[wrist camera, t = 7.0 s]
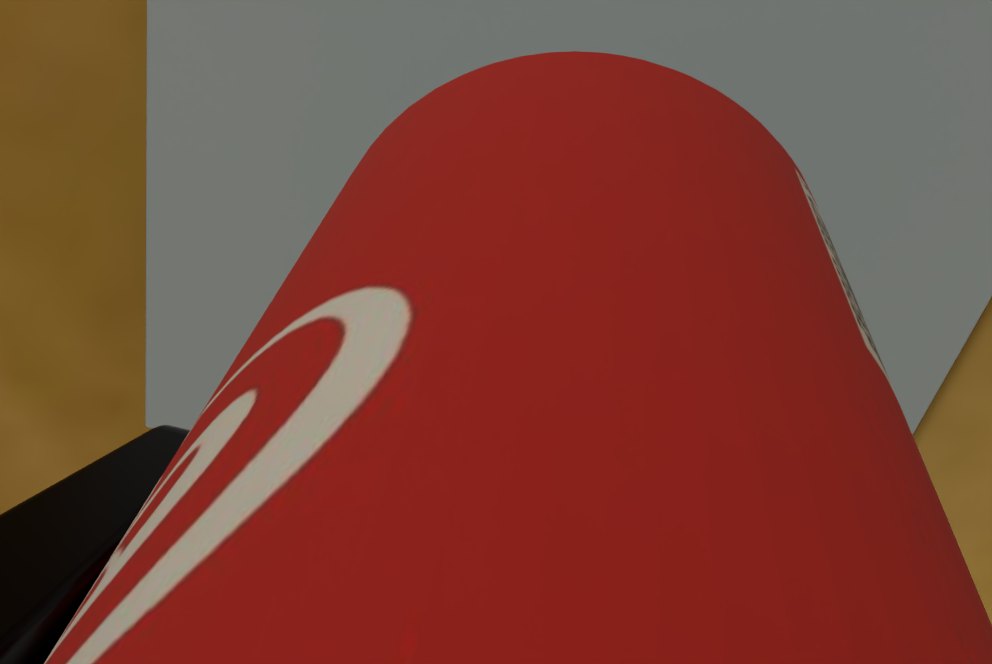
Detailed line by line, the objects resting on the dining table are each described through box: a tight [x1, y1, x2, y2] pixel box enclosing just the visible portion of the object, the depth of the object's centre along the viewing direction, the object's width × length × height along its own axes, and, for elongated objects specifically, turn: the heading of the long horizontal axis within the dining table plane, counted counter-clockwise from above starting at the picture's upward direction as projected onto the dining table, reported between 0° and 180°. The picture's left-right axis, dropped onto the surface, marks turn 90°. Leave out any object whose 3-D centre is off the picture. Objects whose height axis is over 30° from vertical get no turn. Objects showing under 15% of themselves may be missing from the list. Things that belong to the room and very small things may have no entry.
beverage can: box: [44, 51, 992, 664], centre depth 8 cm, size 6×6×12 cm
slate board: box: [146, 0, 992, 435], centre depth 16 cm, size 14×14×2 cm
